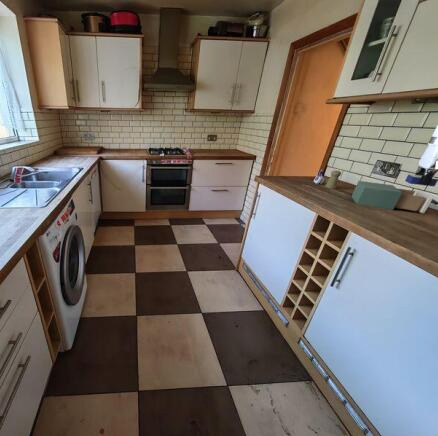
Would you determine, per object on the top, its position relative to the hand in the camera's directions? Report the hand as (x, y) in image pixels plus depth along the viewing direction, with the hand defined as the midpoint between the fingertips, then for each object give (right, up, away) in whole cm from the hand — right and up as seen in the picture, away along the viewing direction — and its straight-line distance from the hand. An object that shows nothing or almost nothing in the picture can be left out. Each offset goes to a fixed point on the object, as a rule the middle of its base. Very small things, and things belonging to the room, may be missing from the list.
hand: (419, 182), depth 104 cm
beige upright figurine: (-4, +4, +46) cm, 46 cm away
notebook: (0, 0, 0) cm, 0 cm away
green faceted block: (-2, -8, +21) cm, 22 cm away
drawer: (+10, -10, +14) cm, 20 cm away
